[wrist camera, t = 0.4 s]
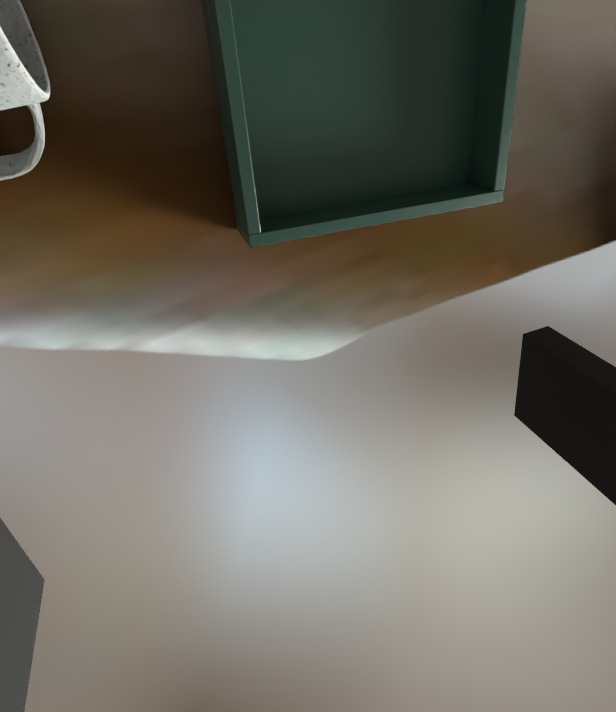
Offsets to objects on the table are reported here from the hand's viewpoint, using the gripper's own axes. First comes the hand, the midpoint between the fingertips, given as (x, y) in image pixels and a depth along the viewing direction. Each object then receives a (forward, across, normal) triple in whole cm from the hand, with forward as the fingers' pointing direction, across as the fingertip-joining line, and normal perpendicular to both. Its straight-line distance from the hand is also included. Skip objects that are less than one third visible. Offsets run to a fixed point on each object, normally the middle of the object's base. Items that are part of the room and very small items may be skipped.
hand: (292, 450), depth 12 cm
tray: (+23, +12, +8) cm, 27 cm away
